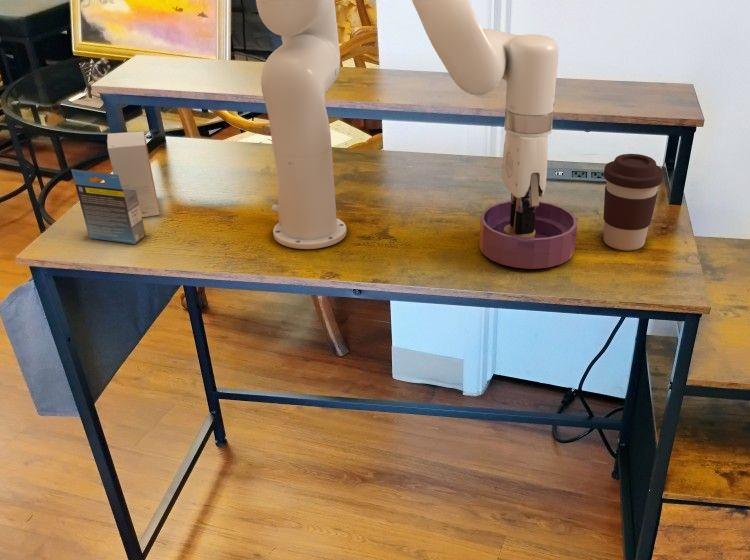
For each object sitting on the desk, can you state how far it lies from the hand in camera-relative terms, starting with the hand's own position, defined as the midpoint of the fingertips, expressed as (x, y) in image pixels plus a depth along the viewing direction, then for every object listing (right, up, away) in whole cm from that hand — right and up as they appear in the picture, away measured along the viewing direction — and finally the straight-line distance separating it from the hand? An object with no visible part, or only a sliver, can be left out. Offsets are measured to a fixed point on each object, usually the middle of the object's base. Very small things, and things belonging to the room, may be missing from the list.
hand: (521, 228), depth 141 cm
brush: (-1, -3, +2) cm, 3 cm away
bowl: (+1, -3, +2) cm, 4 cm away
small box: (-69, +6, +12) cm, 70 cm away
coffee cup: (+18, -1, +7) cm, 20 cm away
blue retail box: (-69, -1, +2) cm, 69 cm away
